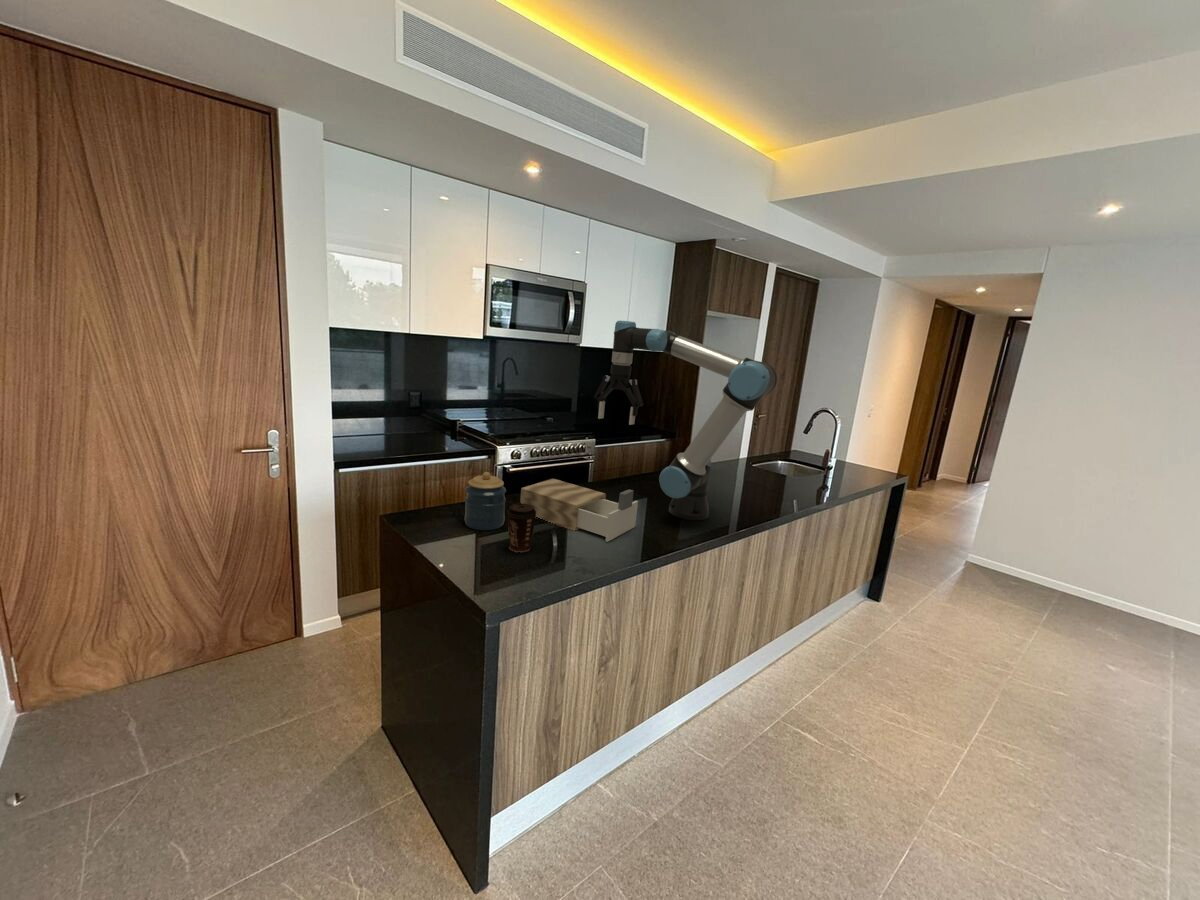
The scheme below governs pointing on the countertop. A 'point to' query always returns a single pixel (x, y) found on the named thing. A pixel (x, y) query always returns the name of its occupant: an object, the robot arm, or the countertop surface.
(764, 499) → the countertop surface
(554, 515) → the mailer sleeve
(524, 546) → the coffee cup
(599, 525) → the tray
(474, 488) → the canister
